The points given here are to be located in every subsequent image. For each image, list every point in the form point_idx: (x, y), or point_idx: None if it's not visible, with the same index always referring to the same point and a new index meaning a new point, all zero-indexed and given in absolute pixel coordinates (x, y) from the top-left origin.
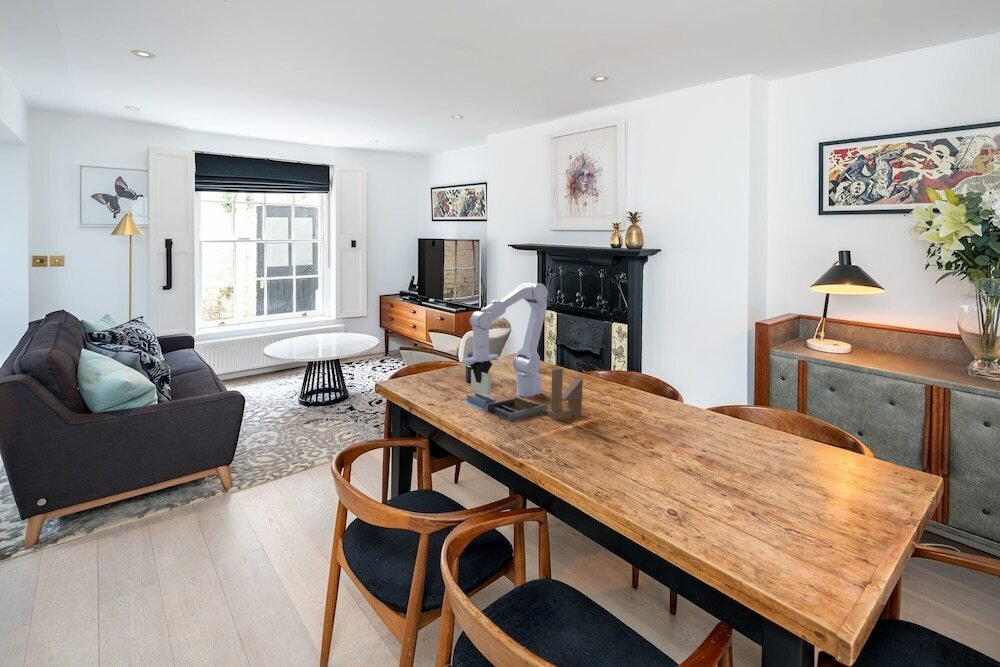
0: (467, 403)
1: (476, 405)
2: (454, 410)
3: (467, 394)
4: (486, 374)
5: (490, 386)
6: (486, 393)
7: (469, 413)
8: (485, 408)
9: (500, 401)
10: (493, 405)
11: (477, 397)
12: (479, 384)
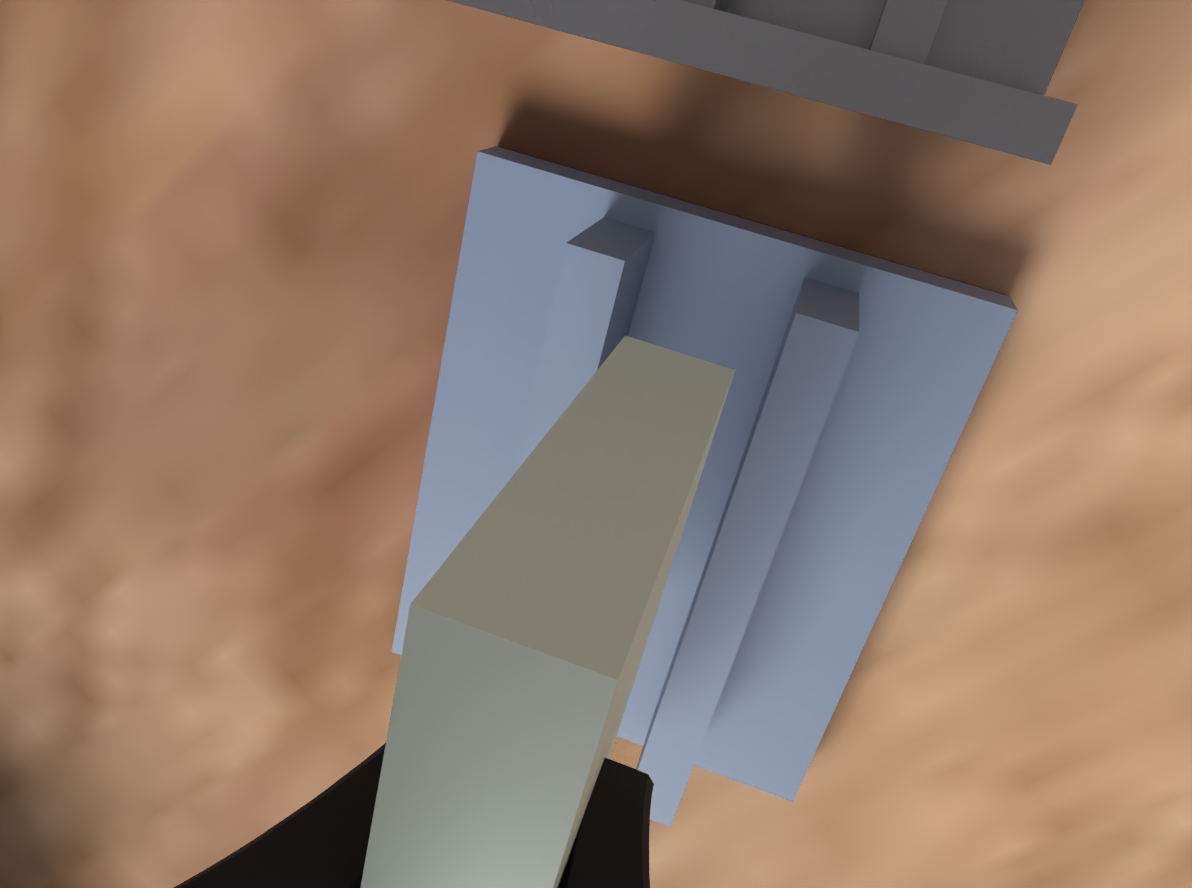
0: (796, 679)
1: (799, 509)
2: (1113, 715)
3: (664, 816)
4: (493, 798)
5: (592, 414)
6: (718, 419)
7: (1136, 434)
8: (858, 275)
9: (632, 30)
10: (887, 54)
11: (703, 599)
12: (605, 757)
